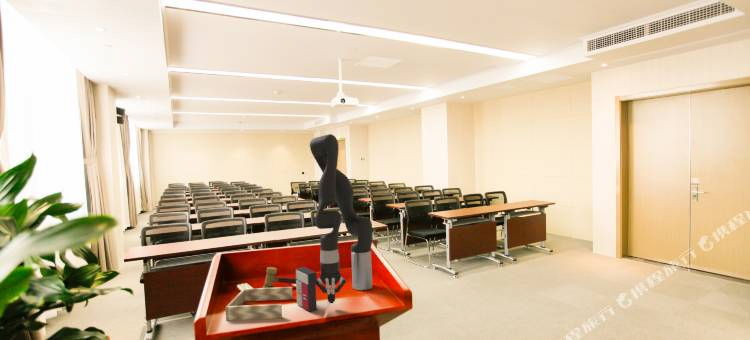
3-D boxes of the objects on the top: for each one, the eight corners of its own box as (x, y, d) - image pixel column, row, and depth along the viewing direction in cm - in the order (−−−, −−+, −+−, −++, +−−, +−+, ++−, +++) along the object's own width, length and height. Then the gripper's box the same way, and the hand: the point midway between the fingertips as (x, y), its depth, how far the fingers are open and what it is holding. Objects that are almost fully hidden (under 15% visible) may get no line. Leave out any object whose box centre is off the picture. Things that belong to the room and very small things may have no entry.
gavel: (306, 291, 182) (310, 270, 183) (308, 294, 178) (312, 273, 179) (262, 288, 174) (266, 266, 175) (263, 291, 170) (267, 268, 171)
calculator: (295, 304, 155) (294, 268, 155) (305, 302, 158) (303, 266, 157) (308, 312, 147) (306, 274, 146) (318, 309, 149) (316, 272, 149)
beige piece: (292, 298, 163) (291, 286, 162) (281, 317, 143) (280, 304, 142) (243, 300, 162) (243, 288, 162) (226, 320, 142) (225, 307, 142)
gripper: (346, 257, 155) (348, 298, 156) (314, 258, 155) (316, 299, 156) (345, 262, 148) (347, 305, 148) (312, 263, 148) (313, 307, 148)
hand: (331, 302), depth 152 cm, fingers closed
